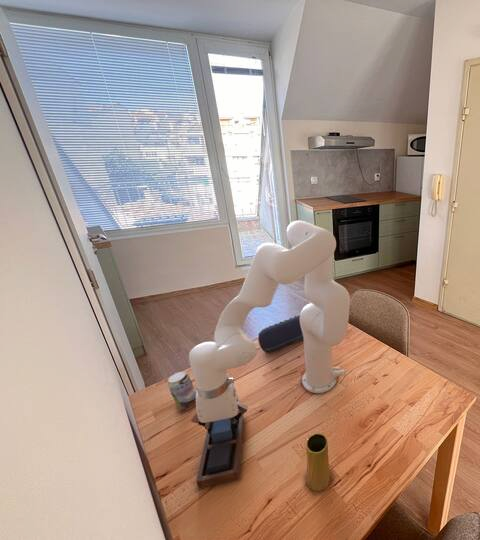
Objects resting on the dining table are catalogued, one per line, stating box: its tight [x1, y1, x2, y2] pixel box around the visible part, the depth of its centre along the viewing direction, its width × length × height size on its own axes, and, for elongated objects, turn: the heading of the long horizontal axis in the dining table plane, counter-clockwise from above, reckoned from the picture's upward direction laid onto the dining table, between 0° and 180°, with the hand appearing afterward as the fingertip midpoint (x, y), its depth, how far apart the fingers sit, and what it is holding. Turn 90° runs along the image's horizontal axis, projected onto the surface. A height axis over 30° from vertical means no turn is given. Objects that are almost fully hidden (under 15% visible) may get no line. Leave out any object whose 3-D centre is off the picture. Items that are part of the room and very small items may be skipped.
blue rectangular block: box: [211, 418, 233, 444], centre depth 85 cm, size 5×6×4 cm
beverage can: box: [167, 370, 196, 411], centre depth 95 cm, size 6×7×12 cm
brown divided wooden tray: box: [195, 414, 245, 490], centre depth 82 cm, size 10×18×3 cm, turn 15°
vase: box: [305, 432, 331, 492], centre depth 74 cm, size 6×6×14 cm
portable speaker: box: [257, 314, 303, 353], centre depth 126 cm, size 25×10×10 cm, turn 130°
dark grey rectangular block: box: [207, 442, 233, 475], centre depth 78 cm, size 5×6×4 cm
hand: (224, 431), depth 85 cm, fingers closed on blue rectangular block, 5 cm apart
